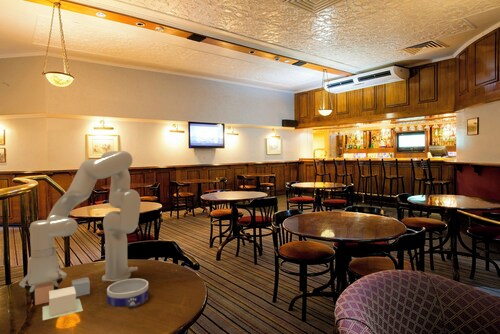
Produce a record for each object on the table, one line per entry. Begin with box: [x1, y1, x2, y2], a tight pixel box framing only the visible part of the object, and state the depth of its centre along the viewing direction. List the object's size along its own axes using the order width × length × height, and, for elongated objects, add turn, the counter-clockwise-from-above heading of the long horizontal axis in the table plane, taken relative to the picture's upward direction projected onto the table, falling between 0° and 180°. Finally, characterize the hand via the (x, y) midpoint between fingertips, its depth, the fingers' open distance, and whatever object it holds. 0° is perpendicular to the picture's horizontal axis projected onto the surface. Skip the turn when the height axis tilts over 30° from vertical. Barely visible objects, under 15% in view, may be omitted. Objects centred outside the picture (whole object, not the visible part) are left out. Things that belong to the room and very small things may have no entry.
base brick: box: [48, 286, 77, 316], centre depth 111 cm, size 8×8×6 cm
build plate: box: [42, 298, 84, 321], centre depth 111 cm, size 12×12×1 cm
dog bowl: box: [106, 278, 149, 309], centre depth 120 cm, size 15×15×6 cm
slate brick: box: [71, 276, 91, 297], centre depth 125 cm, size 6×6×6 cm
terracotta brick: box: [34, 281, 54, 306], centre depth 118 cm, size 6×6×6 cm
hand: (44, 297), depth 118 cm, fingers closed on terracotta brick, 6 cm apart
